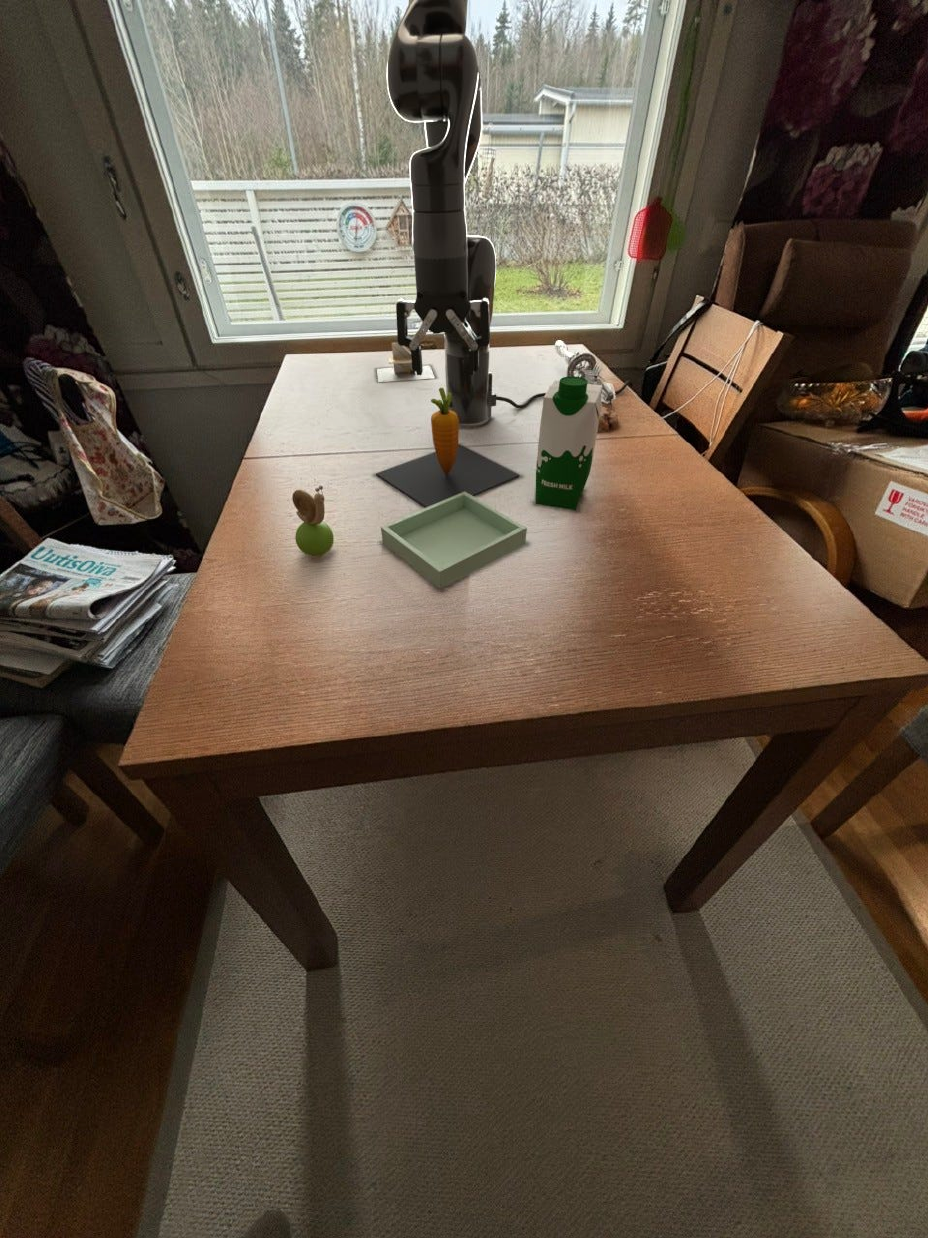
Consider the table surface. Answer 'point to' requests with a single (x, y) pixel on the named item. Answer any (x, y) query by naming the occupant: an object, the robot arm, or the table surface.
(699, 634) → the table surface
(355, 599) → the table surface
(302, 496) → the snail figurine
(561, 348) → the spaceship
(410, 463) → the mat
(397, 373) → the architectural model
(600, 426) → the cookie
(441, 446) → the carrot
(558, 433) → the milk carton
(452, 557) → the tray
